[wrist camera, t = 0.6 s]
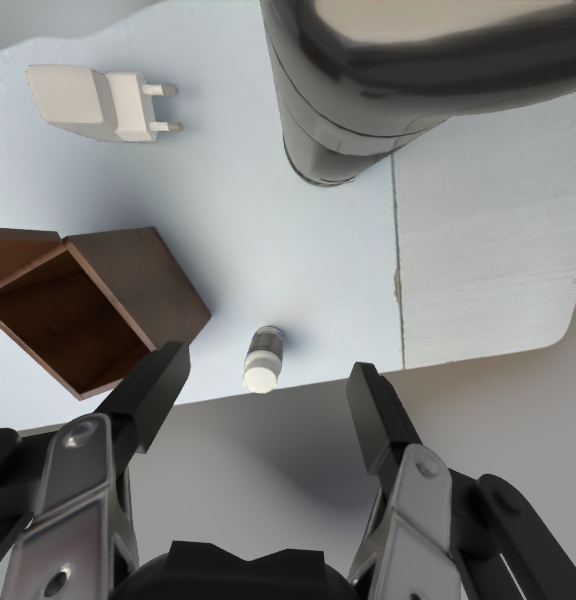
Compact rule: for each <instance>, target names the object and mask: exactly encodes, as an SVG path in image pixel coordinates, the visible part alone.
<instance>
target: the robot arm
mask: <svg viewBox="0 0 576 600" xmlns="http://www.w3.org/2000/svg"><path fill="white" fill-rule="evenodd" d="M260 5H261V11H262V17H263V22H264V28H265V33H266V39H267V45H268V50H269V55H270V60H271V66H272V72H273V77H274V83H275V89H276V95H277V100H278V106H279V112H280V118H281V123H282V129H283V141H284V147H285V151H286V155H287V158H288V160H289V163H290V165H291V166H292V168H293V169H294V171H295V172H296V173H297V174H298V176H299V177H301V178H302V179H303V180H304V181H306V182H307V183H309V184H312V185H314V186H318V187H334V186H338V185H341V184H343V183H348V182H353V181H349V180H350V179H352V178H353V177H355V176H356V175H357V174H359V173H360V172H362V171H364V170H365V169H367V168H369V167H370V166H372V165H374V164H375V163H377V162H379V161H380V160H382V159H384V158H385V157H387V156H388V155H390V154H392V153H393V152H395V151H397V150H398V149H400V148H402V147H403V146H405V145H407V144H408V143H410V142H411V141H413V140H415V139H416V138H418V137H419V136H421V135H423V134H424V133H426V132H428V131H429V130H431V129H433V128H434V127H436V126H438V125H439V124H441V123H443V122H444V121H446V120H447V119H449V118H451V117H452V116H459V115H472V114H482V113H490V112H498V111H504V110H509V109H515V108H520V107H524V106H529V105H532V104H536V103H540V102H544V101H548V100H551V99H555V98H558V97H561V96H564V95H567V94H570V93H573V92H576V0H260ZM190 367H191V365H190V355H189V346H188V342H186V341H178V340H168V341H167V342H166V343H165V345H164V346H163V347H162V348H161V349H160V350H153V351H152V352H150V353H148V354H147V355H145V356H144V357H142V358H141V360H140V361H139V362H138V363H137V364H136V365H135V366H134V369H132V370H131V371H130V372H129V373H128V374H127V376H126V377H124V379H123V380H122V381H121V382H120V383H119V384H118V385H117V386H116V387H115V389H114V390H113V391H112V392H111V393H110V394H109V395H108V396H107V397H106V399H105V400H104V401H103V402H102V403H101V404H100V405H99V406H98V408H97V409H96V410H95V411H94V412H93V413H89V414H86V415H82V416H80V417H78V418H76V419H74V420H72V421H70V422H69V423H67V424H66V425H64V426H63V427H62V428H61V429H60V430H58V431H54V432H48V433H43V434H38V435H33V436H28V437H23V438H21V437H20V436H19V435H18V433H17V432H16V431H15V430H14V429H11V428H0V562H1V560H2V559H3V557H4V556H5V555H6V553H7V552H8V550H9V549H10V548H11V547H12V545H13V544H14V546H13V549H12V552H11V556H10V560H9V564H8V568H7V572H6V577H5V581H4V585H3V589H2V593H1V597H0V600H461V582H462V584H463V587H464V589H465V591H466V594H467V597H468V599H469V600H524V599H523V597H522V596H521V593H520V592H519V590H518V588H517V586H516V584H515V582H514V580H513V578H512V577H511V575H510V573H509V571H508V569H507V567H506V565H505V563H504V562H503V560H502V558H501V556H500V554H501V553H502V555H503V557H504V558H505V560H506V562H507V564H508V566H509V567H510V569H511V571H512V573H513V575H514V577H515V579H516V580H517V582H518V584H519V586H520V588H521V589H522V591H523V593H524V595H525V597H526V599H527V600H576V567H575V566H574V564H573V563H572V561H571V560H570V559H569V557H568V556H567V554H566V553H565V552H564V550H563V549H562V548H561V546H560V545H559V543H558V542H557V541H556V539H555V538H554V536H553V535H552V534H551V532H550V531H549V529H548V528H547V527H546V525H545V524H544V523H543V521H542V520H541V518H540V517H539V516H538V514H537V513H536V511H535V510H534V509H533V507H532V506H531V505H530V503H529V502H528V501H527V500H526V498H525V497H524V496H523V495H522V494H521V493H520V492H519V491H518V490H517V489H516V488H514V487H513V486H512V485H510V484H509V483H508V482H507V481H505V480H503V479H502V478H500V477H498V476H495V475H492V474H484V475H482V476H481V477H480V478H479V479H478V480H475V479H473V478H470V477H468V476H466V475H463V474H461V473H459V472H456V471H454V470H452V469H450V468H448V467H447V466H446V465H445V463H444V462H443V461H442V459H441V458H440V457H439V456H438V455H437V454H436V453H435V452H433V451H432V450H430V449H429V448H427V447H425V446H424V445H423V444H422V442H421V440H420V438H419V436H418V434H417V432H416V430H415V428H414V426H413V424H412V422H411V421H410V419H409V417H408V415H407V413H406V411H405V409H404V407H402V403H401V401H400V399H399V398H398V396H397V393H396V392H395V390H394V388H393V386H392V385H391V383H389V381H388V380H387V379H386V378H385V377H384V376H379V374H378V372H377V370H376V368H375V366H374V365H373V364H372V363H364V362H356V363H355V364H354V366H353V369H352V372H351V374H350V377H349V380H348V383H347V387H346V392H347V393H346V394H347V399H348V403H349V406H350V410H351V414H352V418H353V421H354V425H355V429H356V433H357V436H358V440H359V444H360V448H361V451H362V455H363V459H364V462H365V466H366V469H367V474H368V475H373V476H378V477H379V480H380V484H381V485H380V486H379V489H378V492H377V495H376V498H375V501H374V505H373V508H372V511H371V514H370V517H369V521H368V524H367V527H366V530H365V533H364V537H363V540H362V542H361V544H360V547H359V549H358V551H357V553H356V555H355V558H354V560H353V562H352V565H351V568H350V571H349V574H348V577H347V580H346V579H345V578H344V577H343V576H342V575H341V574H340V573H339V572H337V571H336V570H335V569H333V568H332V567H331V566H329V565H327V564H325V561H324V552H323V551H313V550H299V549H285V550H282V551H279V552H276V553H273V554H270V555H267V556H264V557H261V558H258V559H255V560H252V561H245V560H242V559H241V558H239V557H237V556H235V555H233V554H231V553H229V552H227V551H225V550H223V549H221V548H219V547H217V546H215V545H213V544H211V543H200V542H187V541H173V542H172V545H171V548H170V551H169V552H168V553H165V554H163V555H160V556H158V557H156V558H154V559H152V560H150V561H149V562H147V563H146V564H144V565H142V566H141V567H140V568H139V556H138V548H137V541H136V536H135V532H134V527H133V520H132V506H131V493H130V480H129V467H128V463H129V461H130V460H131V458H132V456H133V455H134V453H141V454H146V453H147V451H148V449H149V447H150V445H151V444H152V442H153V440H154V438H155V436H156V434H157V433H158V431H159V429H160V427H161V426H162V424H163V422H164V420H165V418H166V416H167V415H168V413H169V411H170V409H171V408H172V406H173V404H174V402H175V400H176V399H177V397H178V395H179V393H180V391H181V390H182V388H183V386H184V384H185V382H186V381H187V379H188V376H189V373H190ZM32 518H33V521H32V523H31V525H30V527H29V528H27V529H25V528H26V527H27V525H28V524H29V522H30V521H31V520H32ZM24 529H25V530H24ZM450 554H451V556H450ZM451 557H452V558H451Z"/></svg>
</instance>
